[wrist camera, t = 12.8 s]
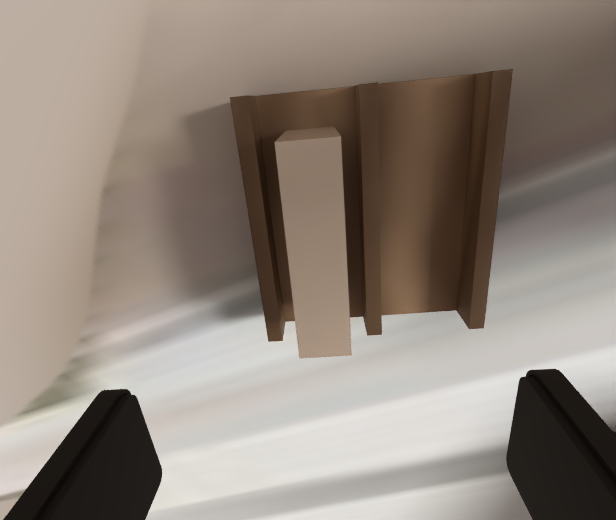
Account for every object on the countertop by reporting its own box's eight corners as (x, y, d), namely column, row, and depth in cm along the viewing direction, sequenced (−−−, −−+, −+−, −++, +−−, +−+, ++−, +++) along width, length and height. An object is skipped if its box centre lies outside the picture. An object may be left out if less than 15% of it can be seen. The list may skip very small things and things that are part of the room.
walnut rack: (481, 74, 23) (512, 69, 19) (462, 299, 29) (483, 327, 26) (243, 97, 24) (230, 97, 20) (274, 312, 30) (268, 341, 27)
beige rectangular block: (334, 126, 23) (340, 136, 17) (343, 296, 28) (351, 355, 21) (286, 130, 23) (274, 142, 17) (303, 298, 28) (299, 358, 22)
